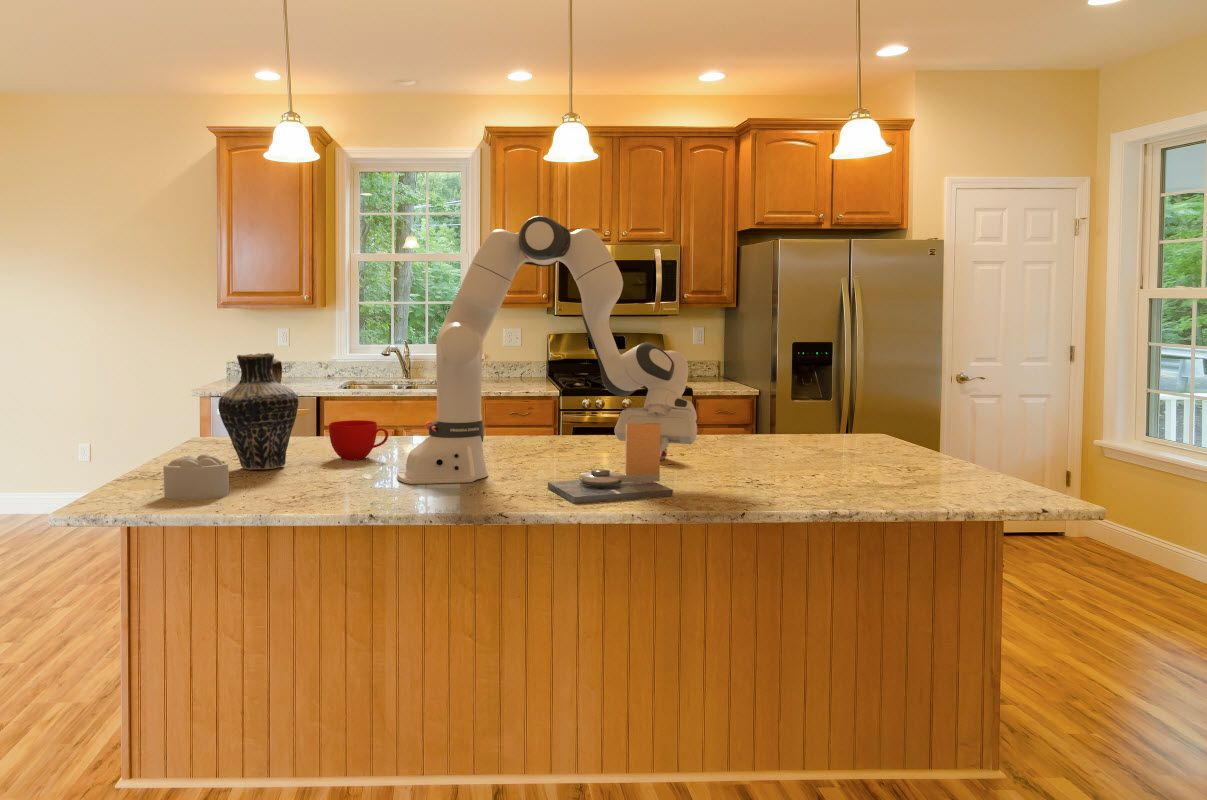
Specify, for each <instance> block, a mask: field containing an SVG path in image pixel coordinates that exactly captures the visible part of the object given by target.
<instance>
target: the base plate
mask: <svg viewBox="0 0 1207 800" xmlns="http://www.w3.org/2000/svg"><path fill="white" fill-rule="evenodd" d="M547 489H548V490H549V491H552V492H553V493H555V494H556V495H558V496H560V497H562V498H563V499H566V500H567V501H569V502H571V504H574V505H575V504H586V503H588V504H590V503H603V502H613V501H614V502H615V501H624V500H625V501H627V500H628V501H629V500H640V499H652V498H665V497H667V498H668V497H673V495H674V489H673V488H669V487H668V486H666V485H663V484H661V483H659V482H657V481H649V482H621V483H620V484H617V485H609V486H593V485H586V484H582V483H580V482H579V479H576V480H575V479H573V480H560V481H548V482H547Z"/></svg>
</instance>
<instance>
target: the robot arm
mask: <svg viewBox="0 0 1207 800" xmlns="http://www.w3.org/2000/svg"><path fill="white" fill-rule="evenodd" d="M558 262H560V263H563V264H564V265H565V267H567V268H568V271H569V272H570V274H571V276H572V278H573V280H574V281H575V283H576V286H577V288H578V292H579V294H580V298H581V309H580V310H581V312H580V313H581V317H582V321H583V324H584V327H585V330H586V332H587V335H588V338H589V341H590V343H591V346H592V349H593V352H594V354H595V357H596V360H597V363H598V366H599V367H598V368H599V370H600V377H601V381H602V382H603V383H602V384H603V386H604V387H605V389H607V391H608V392H610V393H612V395H614V396H617V397H620V398H624V397H628V396H630V395H631V394H633V393H635V392H636V391H637V390H638V389H640V388H643V387H646V388H647V393H646V397H645V401H644V405H643V407H631V406H629V407H626V408H624V409H622V411H620V414H619V417H618V420H617V422H616V424H615V427H614V430H613V431H614V434H615V436H616V438H617V440H619V441H620V442H625V440H626V424H639V423H659V424H660V443H661V444H660V457H661V453H662V451H663V450H665V449H666V448H667V447H668V446H669V444H675V445H676V444H678V445H692V444H694V443H695V442H696V440H697V435H698V424H697V422H696V421H697V420H698V419H697V418H698V415H697V411H696V409H695V406H694V404H693V403H692V402H691V401H690V400H687V399H684V398H683V397H682V396H683V394H684V392H685V391H686V386H687V383H688V377H689V364H688V361H687V358H686V357H685V355H683V354H682V353H681V352H678V351H675V350H670V349H669V350H663V349H662V348H661V347H659V346H658V345H656V344H654V343H652V342H646V341H645V342H642V343H640V344H638V345H636V346H634V347H632V348H630V349H629V350H627V351H626V352H624V353H622V354H621V353H620V352H619V349H618V346H617V344H616V341H615V338H614V336H613V333H612V331H611V328H610V316H611V313H612V310H613V309H614V307H615V305H616V303H617V302H618V301H619V298H620V297H621V295H622V292H623V287H624V280H623V276H622V272H621V271H620V269H619V266H618V264H617V262H616V261H615V258H614V257H613V255H612V254H611V252H610V251H609V249H608V247H607V246H606V244H605V242H604V241H603V240H602V239H601V237H600V235H598V233H597V232H596V231H594V230H593V229H590V228H580V229H575V230H574V231H571V232H570V230H569V229H568V228H567V227H565V226H563V225H562V224H560V222H558V221H556V220H554V219H552V217H551V218H550V217H549V216H545V215H537V216H532V217H531V218H529V219H527V220H526V221H525V222H524V223H523V224H522V226H521V228H520V230H519V232H516V233H514V232H512V231H510V230H507V229H494V230H492V231H490V233H489V234H488V235H487V236H486V238H485V239H484V241H483V242H482V243H481V245H480V247H479V248H478V250H477V251H476V253H475V255H474V256H473V259H472V261H471V264H470V266H469V267H468V270H467V271H466V274H465V276H464V278H463V280H462V282H461V284H460V287H459V289H458V291H457V293H456V295H455V296H454V300H453V301H452V303H451V306H450V307H449V309H448V311H447V314H446V316H445V318H444V321H443V322H442V325H441V326H440V329H439V331H438V333H437V336H436V343H435V344H436V347H435V348H436V349H435V350H436V353H435V354H436V358H435V359H436V420H435V421H433V422H431V421H425V423H424V425H423V426H424V428H425V429H426V430H427V431H428V435H429V436H428V437H426V439H424V440H423V441H422V442H420V443H419V444H417V446H415V447H414V448H413V449H411V450H410V451H409V452H408V456H407V458H406V465H405V470H401V471H398V472H397V473H396V478H397V480H398V481H400V482H402V483H405V484H411V485H417V484H419V485H421V484H455V483H456V484H457V483H472V482H473V483H474V482H475V481H476V480H481V479H484V478H486V477H488V476H489V473H488V470H487V464H486V462H485V455H484V448H483V446H484V445H483V442H484V437H485V434H484V433H485V431H484V430H485V428H484V427H485V426H484V420H483V419H482V383H483V382H482V380H483V379H482V376H483V374H482V373H483V342H484V341H485V338H486V336H487V334H488V332H489V330H490V329H491V327H492V324H493V322H494V320H495V318H496V317H497V314H498V313H499V311H500V309H501V307H502V305H503V302H504V300H505V298H506V296H507V294H508V292H509V290H510V287H511V285H512V283H513V281H514V279H515V276H516V275H517V272H518V271H519V269H520V268H521V266H522V265H530V266H537V267H550V266H554V265H555V264H557V263H558ZM667 449H668V448H667Z"/></svg>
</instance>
